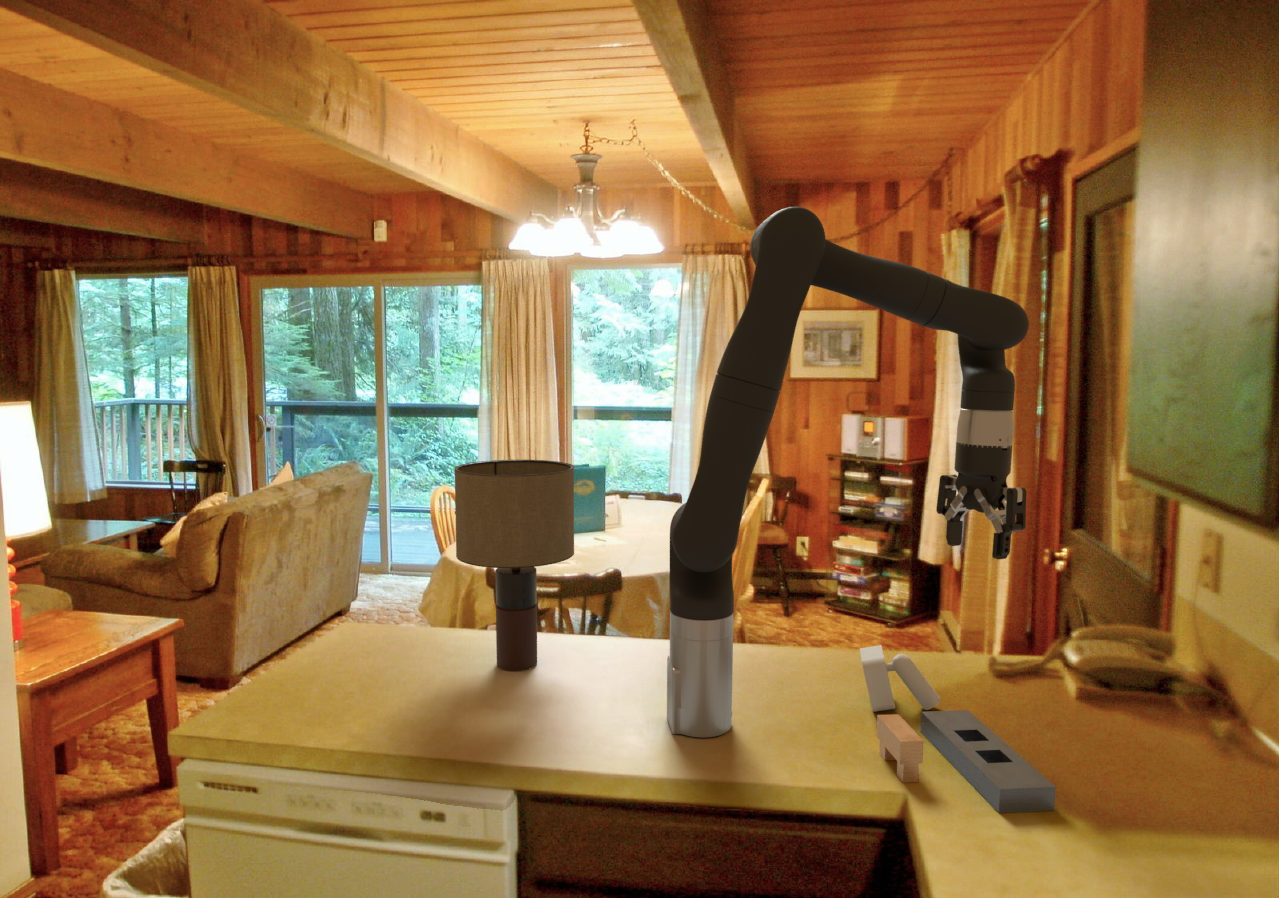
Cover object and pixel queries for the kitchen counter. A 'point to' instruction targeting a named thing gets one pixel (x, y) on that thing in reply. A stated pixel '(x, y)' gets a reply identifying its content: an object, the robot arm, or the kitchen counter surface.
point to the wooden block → (900, 746)
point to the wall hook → (880, 682)
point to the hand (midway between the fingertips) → (976, 551)
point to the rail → (988, 762)
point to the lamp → (515, 539)
